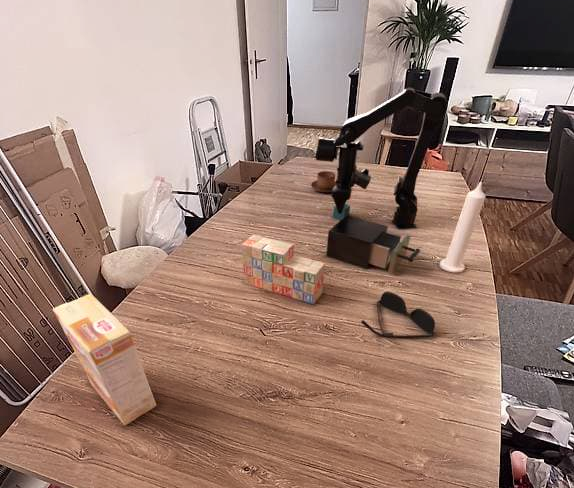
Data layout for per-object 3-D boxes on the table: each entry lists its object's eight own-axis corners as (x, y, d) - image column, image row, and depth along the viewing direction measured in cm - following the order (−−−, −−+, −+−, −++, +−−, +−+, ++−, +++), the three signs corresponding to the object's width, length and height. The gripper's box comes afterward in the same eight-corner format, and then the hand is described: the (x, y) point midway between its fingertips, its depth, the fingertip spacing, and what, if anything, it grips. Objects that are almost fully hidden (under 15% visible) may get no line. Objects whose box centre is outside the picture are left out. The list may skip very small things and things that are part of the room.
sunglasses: (344, 323, 92) (346, 307, 89) (381, 301, 99) (385, 285, 96) (399, 361, 83) (404, 345, 79) (436, 334, 90) (442, 318, 86)
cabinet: (382, 251, 119) (387, 225, 113) (366, 269, 111) (371, 242, 105) (344, 239, 124) (347, 215, 119) (326, 256, 116) (328, 230, 111)
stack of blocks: (322, 293, 102) (326, 252, 93) (313, 305, 98) (316, 264, 89) (255, 272, 109) (253, 233, 101) (243, 283, 105) (240, 243, 97)
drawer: (419, 260, 113) (425, 239, 109) (406, 277, 106) (412, 256, 102) (367, 245, 120) (371, 225, 115) (352, 260, 113) (355, 240, 108)
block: (338, 213, 139) (339, 202, 136) (349, 216, 138) (350, 205, 135) (332, 218, 137) (333, 206, 134) (343, 221, 135) (345, 209, 132)
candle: (465, 274, 109) (498, 188, 93) (440, 271, 110) (468, 185, 94) (462, 261, 115) (492, 178, 98) (438, 259, 116) (464, 176, 99)
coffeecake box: (89, 383, 77) (50, 308, 64) (122, 365, 81) (91, 291, 68) (123, 427, 69) (87, 352, 56) (158, 405, 73) (131, 330, 60)
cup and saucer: (307, 185, 160) (307, 170, 156) (333, 183, 163) (334, 168, 159) (317, 196, 151) (317, 180, 147) (344, 193, 154) (345, 177, 150)
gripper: (368, 174, 116) (361, 222, 127) (373, 156, 130) (367, 200, 140) (333, 171, 118) (329, 218, 129) (341, 153, 132) (337, 197, 142)
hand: (342, 208), depth 135 cm, fingers open, 9 cm apart
